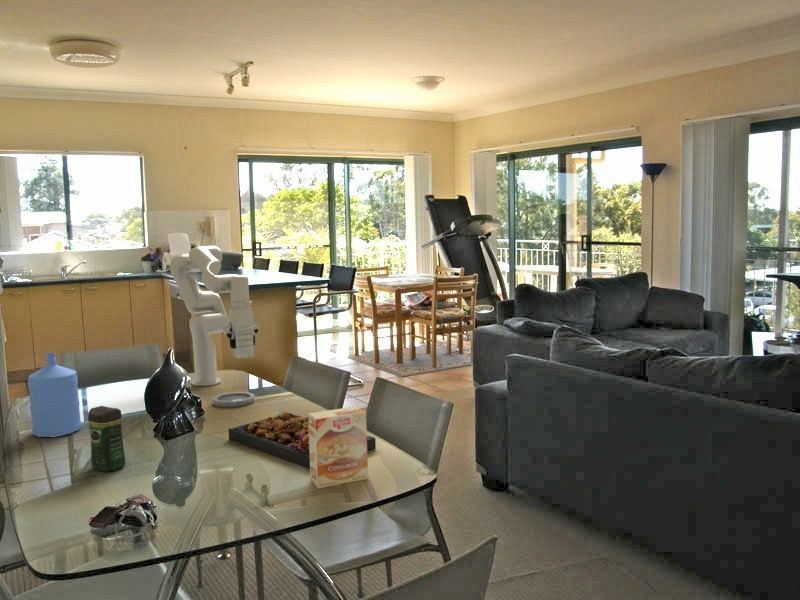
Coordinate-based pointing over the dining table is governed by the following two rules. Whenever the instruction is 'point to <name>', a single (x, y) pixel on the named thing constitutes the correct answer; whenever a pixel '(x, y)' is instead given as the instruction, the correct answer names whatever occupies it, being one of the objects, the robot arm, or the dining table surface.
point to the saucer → (233, 399)
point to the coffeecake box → (338, 446)
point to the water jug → (54, 400)
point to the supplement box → (244, 343)
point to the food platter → (281, 437)
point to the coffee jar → (106, 438)
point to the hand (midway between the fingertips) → (242, 346)
